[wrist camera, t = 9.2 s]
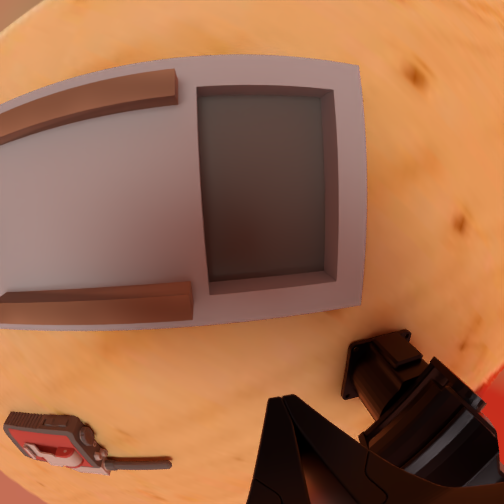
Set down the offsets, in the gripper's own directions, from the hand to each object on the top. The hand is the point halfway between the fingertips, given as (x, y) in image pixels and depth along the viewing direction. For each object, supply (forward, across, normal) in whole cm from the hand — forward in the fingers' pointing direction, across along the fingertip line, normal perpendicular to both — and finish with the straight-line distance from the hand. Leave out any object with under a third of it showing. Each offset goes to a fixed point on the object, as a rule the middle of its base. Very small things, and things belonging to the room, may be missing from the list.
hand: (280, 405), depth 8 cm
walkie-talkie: (+13, +19, +18) cm, 29 cm away
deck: (+12, +10, -6) cm, 17 cm away
